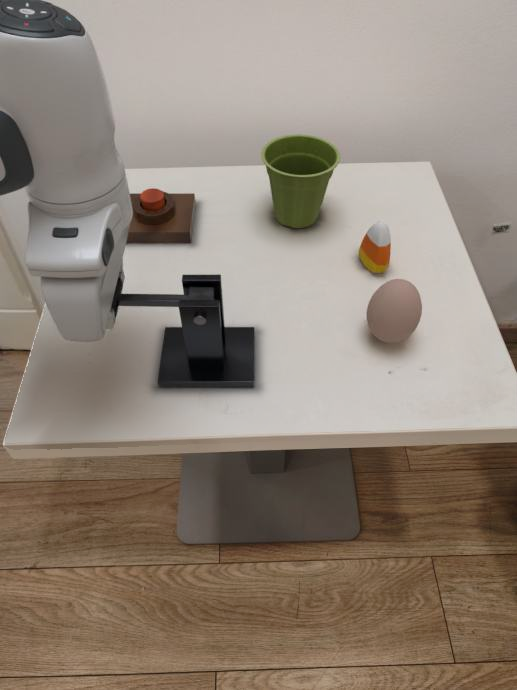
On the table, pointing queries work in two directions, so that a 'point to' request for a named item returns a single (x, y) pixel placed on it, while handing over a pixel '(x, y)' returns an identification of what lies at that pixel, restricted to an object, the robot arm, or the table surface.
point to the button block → (163, 220)
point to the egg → (394, 310)
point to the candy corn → (376, 248)
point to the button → (152, 199)
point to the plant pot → (299, 176)
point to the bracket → (206, 344)
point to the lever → (158, 297)
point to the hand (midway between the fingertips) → (112, 303)
